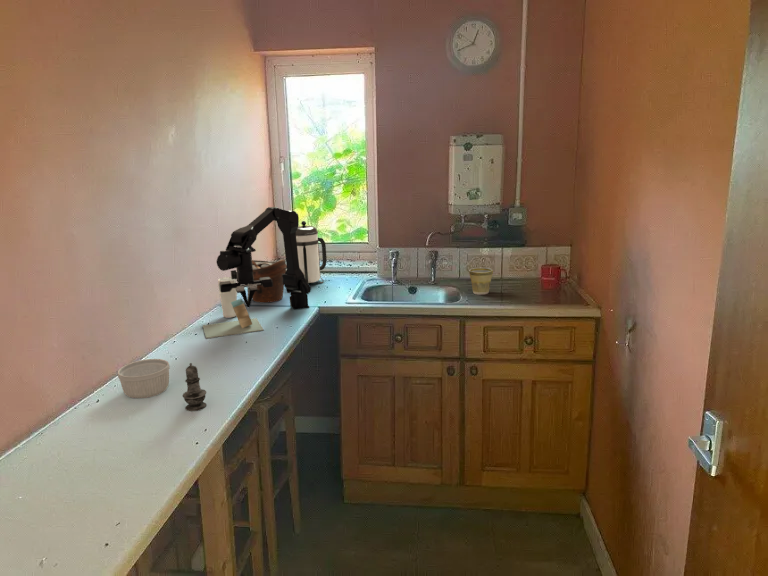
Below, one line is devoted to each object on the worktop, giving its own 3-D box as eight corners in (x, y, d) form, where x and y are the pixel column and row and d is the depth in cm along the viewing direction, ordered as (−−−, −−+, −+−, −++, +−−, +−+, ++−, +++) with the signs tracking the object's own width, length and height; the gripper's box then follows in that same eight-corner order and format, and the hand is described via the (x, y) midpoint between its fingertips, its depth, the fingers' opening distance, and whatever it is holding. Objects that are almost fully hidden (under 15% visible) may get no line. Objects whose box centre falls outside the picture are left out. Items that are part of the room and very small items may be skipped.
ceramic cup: (482, 296, 247) (482, 273, 245) (464, 293, 255) (464, 270, 252) (501, 291, 256) (501, 268, 253) (483, 287, 263) (483, 265, 261)
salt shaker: (198, 400, 156) (192, 357, 153) (212, 404, 153) (207, 361, 150) (179, 408, 152) (173, 364, 149) (193, 413, 148) (188, 368, 145)
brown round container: (241, 296, 263) (237, 257, 258) (286, 291, 269) (283, 253, 264) (245, 307, 246) (241, 265, 242) (293, 301, 252) (290, 260, 248)
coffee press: (324, 286, 276) (319, 222, 269) (289, 287, 276) (284, 223, 269) (327, 278, 293) (324, 217, 286) (295, 279, 293) (291, 218, 286)
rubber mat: (256, 319, 228) (256, 318, 228) (263, 330, 213) (263, 329, 213) (202, 326, 221) (202, 325, 221) (206, 338, 207) (206, 337, 206)
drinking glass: (234, 319, 229) (231, 281, 226) (218, 318, 230) (214, 281, 227) (241, 314, 236) (238, 277, 232) (226, 313, 237) (222, 277, 233)
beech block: (250, 319, 222) (241, 298, 219) (252, 324, 216) (243, 302, 214) (239, 324, 221) (230, 302, 218) (242, 328, 215) (232, 306, 213)
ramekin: (135, 405, 155) (131, 380, 153) (112, 392, 163) (108, 369, 162) (181, 388, 164) (178, 365, 163) (157, 377, 173) (154, 355, 171)
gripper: (266, 259, 224) (269, 299, 228) (215, 264, 218) (219, 305, 222) (271, 264, 214) (275, 306, 218) (218, 269, 208) (222, 312, 212)
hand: (248, 307), depth 217 cm, fingers closed
